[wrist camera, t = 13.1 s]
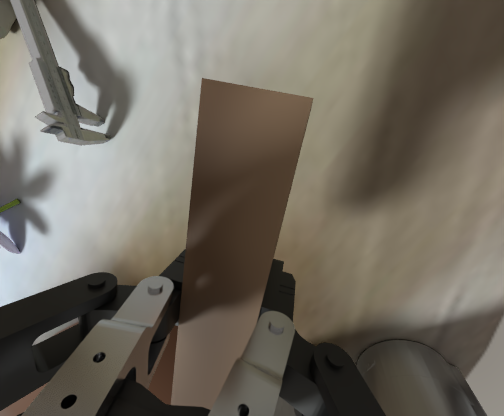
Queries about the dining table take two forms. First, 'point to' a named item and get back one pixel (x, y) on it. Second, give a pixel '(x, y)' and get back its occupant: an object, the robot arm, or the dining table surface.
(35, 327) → the robot arm
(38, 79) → the caliper
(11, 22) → the ceramic sculpture
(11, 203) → the water lily
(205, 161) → the walnut bar
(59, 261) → the dining table surface
